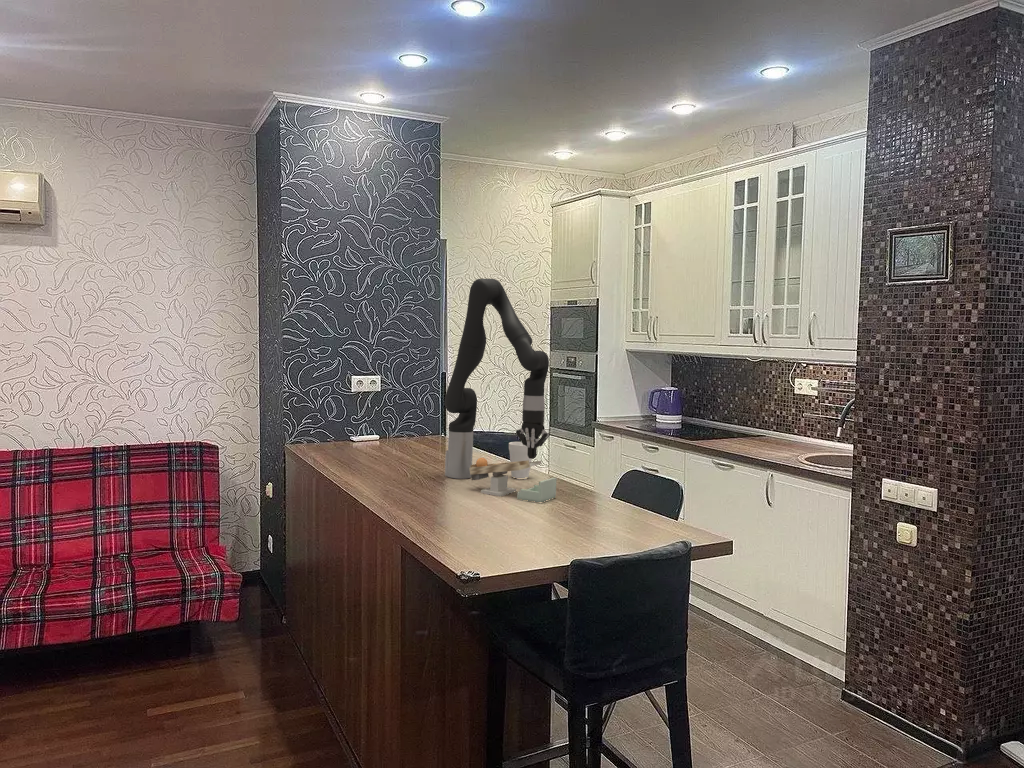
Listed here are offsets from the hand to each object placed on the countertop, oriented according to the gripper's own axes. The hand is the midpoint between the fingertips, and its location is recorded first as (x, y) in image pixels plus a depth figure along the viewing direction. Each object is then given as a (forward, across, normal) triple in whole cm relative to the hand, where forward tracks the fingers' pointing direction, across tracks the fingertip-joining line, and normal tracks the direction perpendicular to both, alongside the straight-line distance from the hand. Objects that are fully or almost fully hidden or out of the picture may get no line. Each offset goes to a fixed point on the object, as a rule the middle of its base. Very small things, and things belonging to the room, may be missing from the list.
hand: (531, 458), depth 272 cm
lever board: (+6, -7, -5) cm, 10 cm away
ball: (+2, -15, -9) cm, 17 cm away
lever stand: (+12, -8, -9) cm, 16 cm away
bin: (+12, +7, -9) cm, 16 cm away
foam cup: (+12, -16, +18) cm, 27 cm away
